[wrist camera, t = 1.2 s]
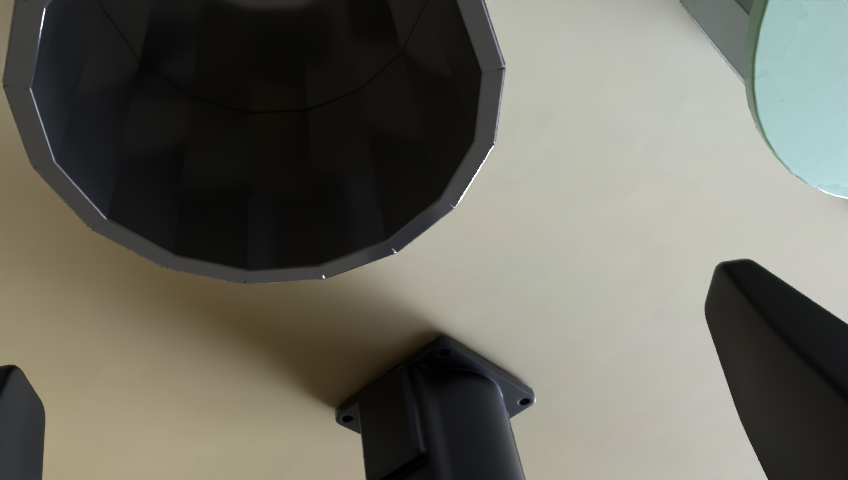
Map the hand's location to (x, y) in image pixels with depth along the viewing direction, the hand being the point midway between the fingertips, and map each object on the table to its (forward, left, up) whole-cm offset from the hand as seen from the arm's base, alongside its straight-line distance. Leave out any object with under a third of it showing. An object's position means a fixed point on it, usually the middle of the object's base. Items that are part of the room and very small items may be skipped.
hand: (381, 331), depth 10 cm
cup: (0, +2, -14) cm, 14 cm away
